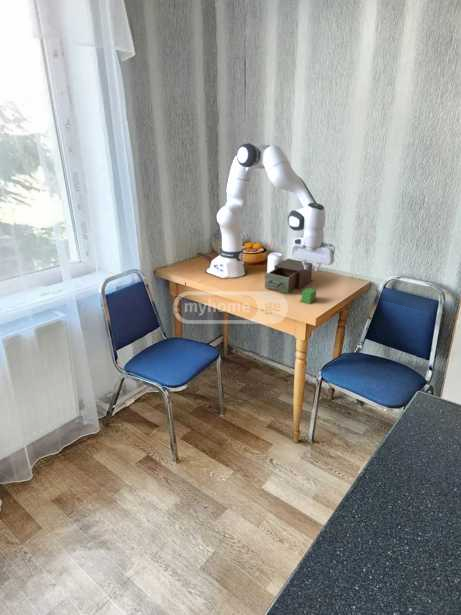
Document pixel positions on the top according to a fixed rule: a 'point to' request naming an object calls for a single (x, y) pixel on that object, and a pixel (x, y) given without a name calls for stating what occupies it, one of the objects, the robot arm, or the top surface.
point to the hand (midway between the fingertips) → (310, 270)
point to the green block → (308, 295)
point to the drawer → (281, 280)
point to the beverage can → (274, 261)
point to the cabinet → (297, 270)
